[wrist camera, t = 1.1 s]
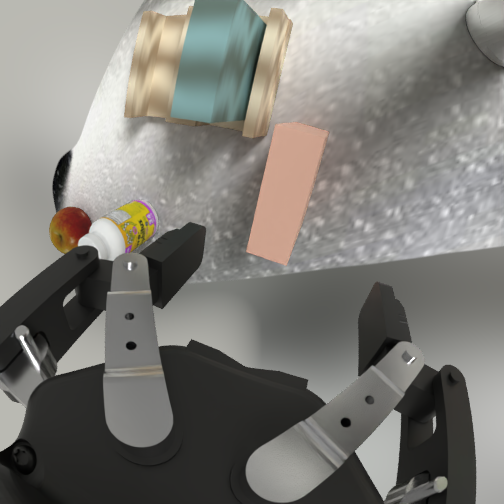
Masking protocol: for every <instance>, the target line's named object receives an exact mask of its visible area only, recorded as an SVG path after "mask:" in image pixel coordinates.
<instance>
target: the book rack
mask: <svg viewBox="0 0 504 504" xmlns="http://www.w3.org/2000/svg"><path fill="white" fill-rule="evenodd" d="M292 25H293V23H292V21H291V20H290V19H288V17H287V15H286V14H285V12H284V10H283V9H278V8H271V11H270V15H269V17H266V16H258V15H257V14H256V13H255V12H254V11H253V9H252V8H251V7H250V6H249V5H248V4H247V3H246V2H245V1H244V0H195V3H194V6H189V9H188V12H187V15H175V16H164V15H162V14H159V13H156V12H154V11H145V12H143V16H142V19H141V23H140V27H139V31H138V36H137V40H136V45H135V49H134V54H133V59H132V65H131V70H130V76H129V83H128V89H127V97H126V105H125V113H124V117H127V118H133V117H141V116H153V117H162V118H166V122H170V123H176V124H183V125H189V126H202V125H213V126H218V127H223V128H228V129H233V130H238V131H243V133H242V136H245V137H249V138H256V137H260V136H267V132H268V128H269V123H270V119H271V114H272V110H273V106H274V101H275V97H276V93H277V88H278V84H279V80H280V76H281V71H282V67H283V63H284V59H285V55H286V50H287V46H288V42H289V38H290V34H291V30H292Z"/></svg>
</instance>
